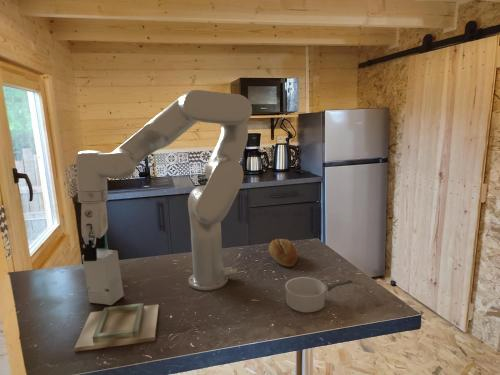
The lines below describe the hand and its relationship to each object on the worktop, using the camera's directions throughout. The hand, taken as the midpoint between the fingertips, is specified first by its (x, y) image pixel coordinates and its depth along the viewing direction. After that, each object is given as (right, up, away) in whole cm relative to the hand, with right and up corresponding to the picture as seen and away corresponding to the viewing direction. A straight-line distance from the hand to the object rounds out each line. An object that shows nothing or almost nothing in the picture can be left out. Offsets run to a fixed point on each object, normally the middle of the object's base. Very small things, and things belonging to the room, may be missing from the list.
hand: (95, 254), depth 98 cm
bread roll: (+56, -8, +29) cm, 64 cm away
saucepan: (+64, -14, 0) cm, 66 cm away
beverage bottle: (-7, -11, +21) cm, 25 cm away
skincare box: (+2, -14, +4) cm, 15 cm away
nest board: (+11, -17, -10) cm, 23 cm away
